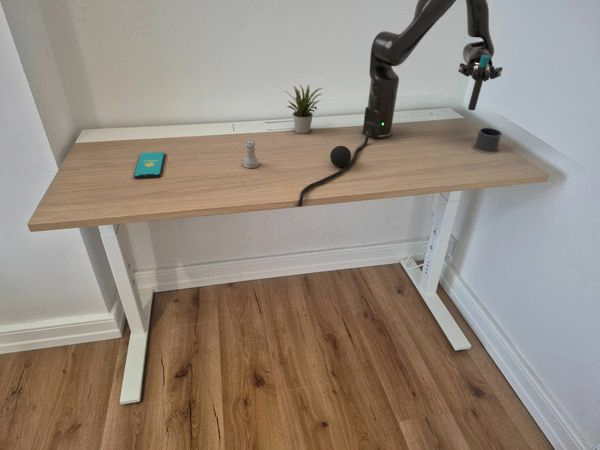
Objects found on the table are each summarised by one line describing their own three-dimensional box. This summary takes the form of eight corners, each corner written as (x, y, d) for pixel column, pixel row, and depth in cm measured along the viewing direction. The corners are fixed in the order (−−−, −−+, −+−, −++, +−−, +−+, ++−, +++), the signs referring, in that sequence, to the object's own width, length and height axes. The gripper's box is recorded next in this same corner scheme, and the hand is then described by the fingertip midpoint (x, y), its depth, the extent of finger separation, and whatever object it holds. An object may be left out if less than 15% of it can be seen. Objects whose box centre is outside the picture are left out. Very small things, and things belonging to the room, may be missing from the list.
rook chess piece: (257, 169, 127) (256, 144, 122) (242, 168, 127) (241, 144, 122) (259, 162, 130) (258, 138, 126) (244, 161, 130) (243, 137, 126)
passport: (164, 151, 133) (159, 174, 121) (164, 153, 133) (160, 176, 121) (140, 153, 132) (133, 176, 120) (141, 155, 132) (134, 178, 120)
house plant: (332, 129, 152) (336, 84, 143) (313, 142, 143) (315, 94, 133) (299, 120, 158) (300, 76, 149) (278, 132, 149) (278, 86, 139)
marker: (472, 111, 135) (487, 57, 125) (466, 108, 136) (479, 55, 127) (476, 109, 136) (491, 56, 127) (470, 107, 138) (484, 54, 128)
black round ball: (355, 144, 132) (348, 145, 123) (355, 164, 134) (349, 167, 124) (335, 145, 134) (327, 146, 125) (336, 165, 136) (328, 168, 126)
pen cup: (488, 155, 138) (494, 138, 135) (470, 147, 142) (475, 130, 139) (500, 149, 142) (506, 133, 138) (482, 142, 146) (487, 126, 142)
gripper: (460, 49, 140) (460, 62, 127) (504, 53, 137) (509, 67, 124) (455, 72, 145) (454, 87, 131) (498, 77, 142) (501, 92, 128)
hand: (481, 77), depth 128 cm, fingers closed on marker, 2 cm apart
